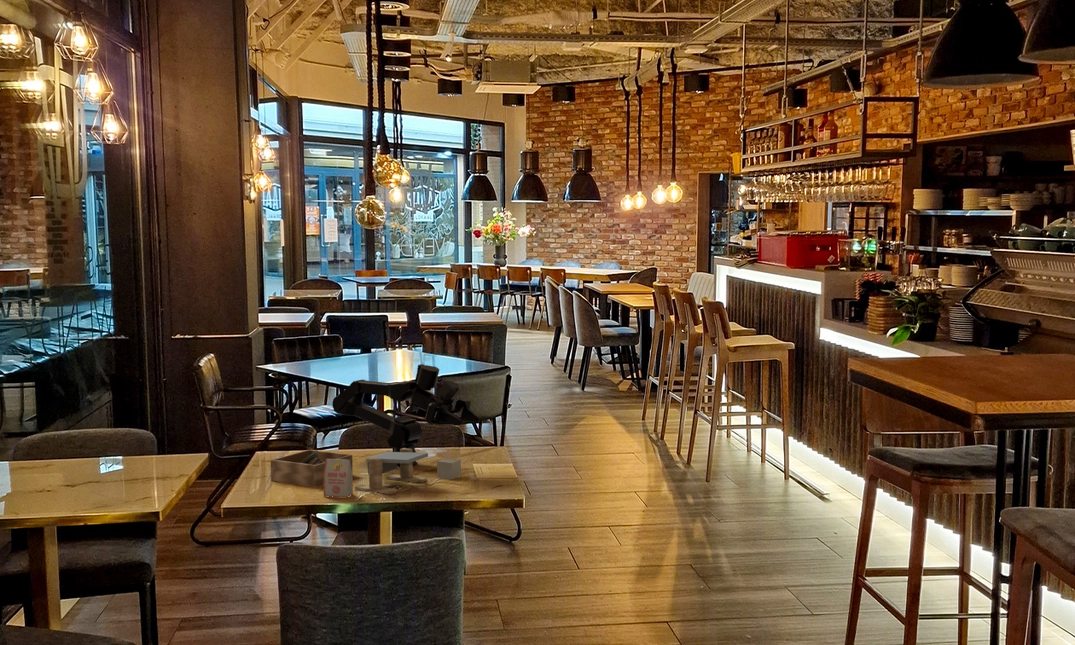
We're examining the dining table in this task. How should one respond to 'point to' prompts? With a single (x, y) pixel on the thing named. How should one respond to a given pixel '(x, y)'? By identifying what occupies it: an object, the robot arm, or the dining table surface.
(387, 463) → the dark grey slab
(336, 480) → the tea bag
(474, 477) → the dining table surface
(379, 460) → the stand
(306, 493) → the dining table surface
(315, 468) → the open wooden box
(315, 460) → the chocolate cake
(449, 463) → the pale grey cube
